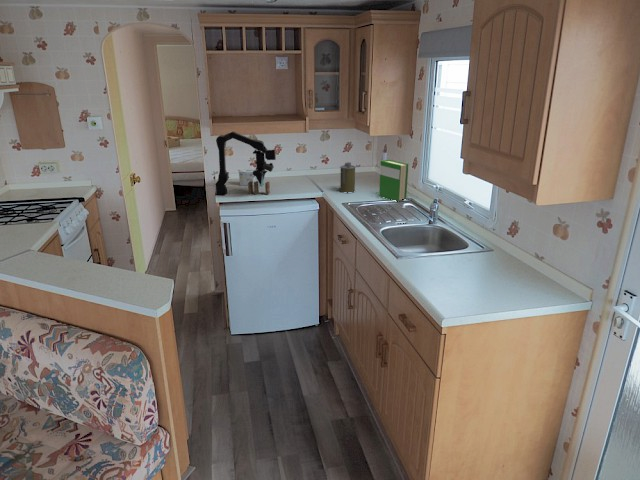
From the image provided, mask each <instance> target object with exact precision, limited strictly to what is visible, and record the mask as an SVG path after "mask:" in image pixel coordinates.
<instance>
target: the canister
mask: <svg viewBox="0 0 640 480" xmlns="http://www.w3.org/2000/svg"><path fill="white" fill-rule="evenodd" d="M339 168H340V185H339V187H340V189H339V192H340V191H341V192H340V193H342V192H353V193H355V192H356V190H355V188H356V166H355V165H352V162H351V161H350V162H349V161H348V162H345V163H344V165H340V166H339ZM354 191H355V192H354Z"/></svg>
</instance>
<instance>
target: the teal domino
mask: <svg viewBox="0 0 640 480" xmlns="http://www.w3.org/2000/svg"><path fill="white" fill-rule="evenodd" d="M264 180H265V177H264V178H263V176H262V182H261V184H260V183H259V182H258V187H263V186H265V181H264Z"/></svg>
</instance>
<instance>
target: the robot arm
mask: <svg viewBox="0 0 640 480" xmlns="http://www.w3.org/2000/svg"><path fill="white" fill-rule="evenodd" d="M232 139H234V140H236V141H239V142H241V143H243V144H246V145H249V146H250V147H252V148H253V149H254V150H253V152H252V154H253V155H254V154H255V162H254V164H256V166H255V169H253V170H254V171H253V175H255V179H257V181H258V184H259V183H260V184H261V182H262V176H263V178H264V179H265V175H266V173H267V172H270V173H271V172H273V169H274V167H275V166H274V165H273V162H269V163H267V161H276V149H268V148H267V147H266V146H265V143H264V141H263V140H259V139H253V138H250V137H247V136H246V135H242V134H240V133H237V132H236V131H230V132H229V133H226V134H224V135H223V134H220V135H219V136H217V137H216V139H215V140H216V141H215V143H216V147H217V149H218V163H219V164H218V165H219V166H218V167H219V173H218V178H217V181H216V182H215V184H214V185H215V196H226V195H227V194H228V187H227V185H226V183H227V182H228V180H229V178H230V175H229V174H230V173H229V172H227V169H226V168H227V167H226V146H227V142H228V141H230V140H232ZM266 160H267V161H266ZM225 194H226V195H225Z"/></svg>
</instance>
